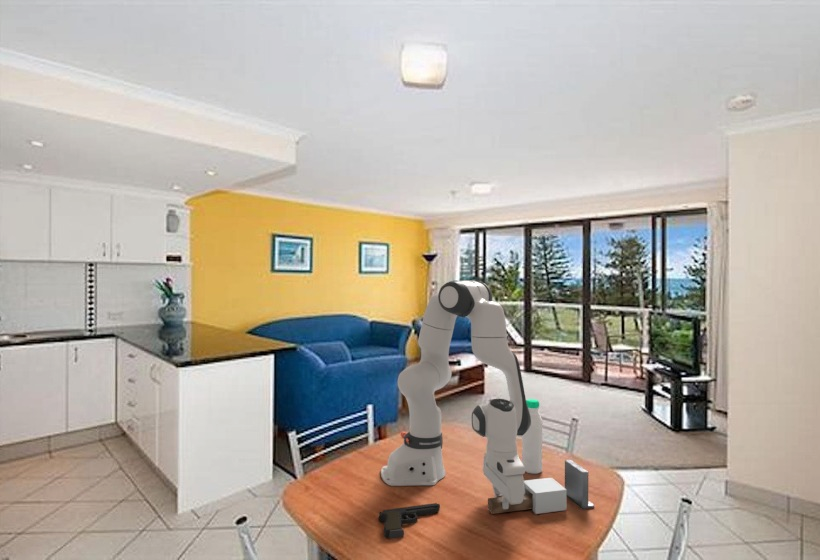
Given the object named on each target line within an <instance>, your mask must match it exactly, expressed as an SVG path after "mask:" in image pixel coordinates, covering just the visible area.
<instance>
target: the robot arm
mask: <svg viewBox="0 0 820 560" xmlns="http://www.w3.org/2000/svg"><path fill="white" fill-rule="evenodd" d="M504 311H505V310H504V308H503V306H502V305H501V304H500V303H498V302H497V301H493V292H492V289H491V288H490V287H489V286H488V285H487V284H486V283H484V282H483V281H480V280H479V281H478V280H472V279H471V280H470V279H464V280H450V281H448V282H446V283H444V284H443V285H442V286H441V287H440V288H439V291H438V293H437V292H436V293H435V294H433V295H432V296H431V297H430V299H429V301H428V304H427V305H426V307H425V311H424V314H423V317H422V322H421V326H420V331H419V335H418V340H417V344H418V346H419V348H420V355H421V356H420V361H419V362H418V363H415V364H411V365H409V366H407V367H405V368H404V369H403V370H402V371H401V372H400V373H399V375H398V376H397V387H398V390H399V391H400V393H401V394H402V395H403V396H404V397H405V399H406V403H407V406H408V411H409V430H408V432H407V433H406V431H401V432H400V433H399V434H400V436H401V438H402V439H403V443H402V444H401V445H400V446H398V447H397V448H396V449H395V450H393V451H391V453H389V457H388V459H387V465H383V466H382V467H381V469H380V476H381V479H382V481H383V482H384V483H385V484H387V485H388V486H392V487H404V486H434V485H436V484H437V483H438V481H440V480H442V479H443V478H444V477H445V476H446V470H445V466H444V459H443V451H442V449H443V444H444V442H443V440H444V439H443V432H442V411H441V408H440V407H439V406H437V403H436V399H435V392H436V391H438V390H441V389H443V388H444V387H445V386H446V385H447V384H448V383H449V382H450V381H451V378H452V374H453V373H452V368H451V366H450V364H449V363H450V362H449V356H450V355H449V354H450V346H451V343H452V338H453V333H454V329H455V324H456V320H457V317H460V318H466V317H467V318H468V319H469V321H470V327H471V335H470V337H471V339H470V340H471V342H470V343H471V351H472V353H473V355H474V357H476V359H477V360H478V361H479V362H481V363H483V364H485V365H487V366H489V367H492V368H495V369H497V370H499V371H501V373H503V374H504V377H505V379H506V384H507V391H508V396H509V400H508V399H504V398H493V399H491V400H490V401H489V402H488V403H482V404H478V405H477V406H476V407H475V408H474V409H473V411H472V412H471V427H472V430H473V431H474V432H475V433H476V434H478V435H479V436H480V437H482V438H486V441H487V442H486V446H485V447H486V451H485V453H484V454H483V459H482V460H483V463H482V471H483V475H484V477H485V478H486V479H487V480H488V481H489V482H490V483H491V484H492V490H493V493H494V496H493V498H495V497H503V500H502V501H501V507H502V508H503V509H508V508H509V503H510V504H511V505H513V504H521V503H522V501H523V498H524V481H525V479H524V475H525V473H526V472H525V467H524V465H523V463H522V459H521V458H520V455H519V453H518V445H517V436H518V437H519V436H521V437H522V435H524V434H525V433H526V432H527V430H528V429H529V427H530V425H531V417H530V413H529V409H528V406H527V403H526V400H527V399H526V392H525V388H524V383H523V382H524V381H523V377H522V370H521V367H520V363H519V359H518V356H517V354H515V352H513V351H512V350H511V349H510V347H509V343H508V335H507V334H508V333H507V331H508V330H507V324H506V316H505V312H504Z"/></svg>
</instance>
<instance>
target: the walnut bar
mask: <svg viewBox="0 0 820 560" xmlns="http://www.w3.org/2000/svg"><path fill="white" fill-rule="evenodd" d="M502 500H503V497H495V498H494V497H487V509H488V511H489V512H490V513H491V515H492V514H493V515H494V514H502V513H508V512H509V513H510V512H516V511H517V512H518V511H525V510H533V494H532V493H528V494H524V498H523V501H522V503H521V504H513V505H511V504H510V503H509V508H508V509H503V508H502V507H501V501H502Z"/></svg>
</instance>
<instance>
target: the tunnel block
mask: <svg viewBox="0 0 820 560" xmlns="http://www.w3.org/2000/svg"><path fill="white" fill-rule="evenodd" d="M528 493H532V494H533V509H532V512H533V513H534V514H535V515H538V514H547V513H553V512H561V511H566V510H567V496H566V494H567V490H566V489H565V486H563V485H561V484H560V483H559V482H558V481H556V480H555V479H554V478H553V477H544V478H543V477H542V478H536V479H535V478H534V479H527V480H525V479H524V494H528Z"/></svg>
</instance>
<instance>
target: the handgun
mask: <svg viewBox="0 0 820 560" xmlns="http://www.w3.org/2000/svg"><path fill="white" fill-rule="evenodd" d="M440 509H441V505H440V503H437V502H435V503H426V504H419V505H418V504H417V505H413V506H405V507H403V506H402V507H397V508H388V509H383V510H382V511H379V512H378V517H377V519H378V522H379V523H384V526H383V530H382V531H383V536H384V538H385V539H389V540H392V539H393V540H395V539H400V538H402V539H403V538H404V537H405V530H404V529H403V527H402V525H410V524H414V523H416V522H418V519H419V517H420V516H421V517H422V516H429V515H434V514H435V513H439V511H440Z"/></svg>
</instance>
